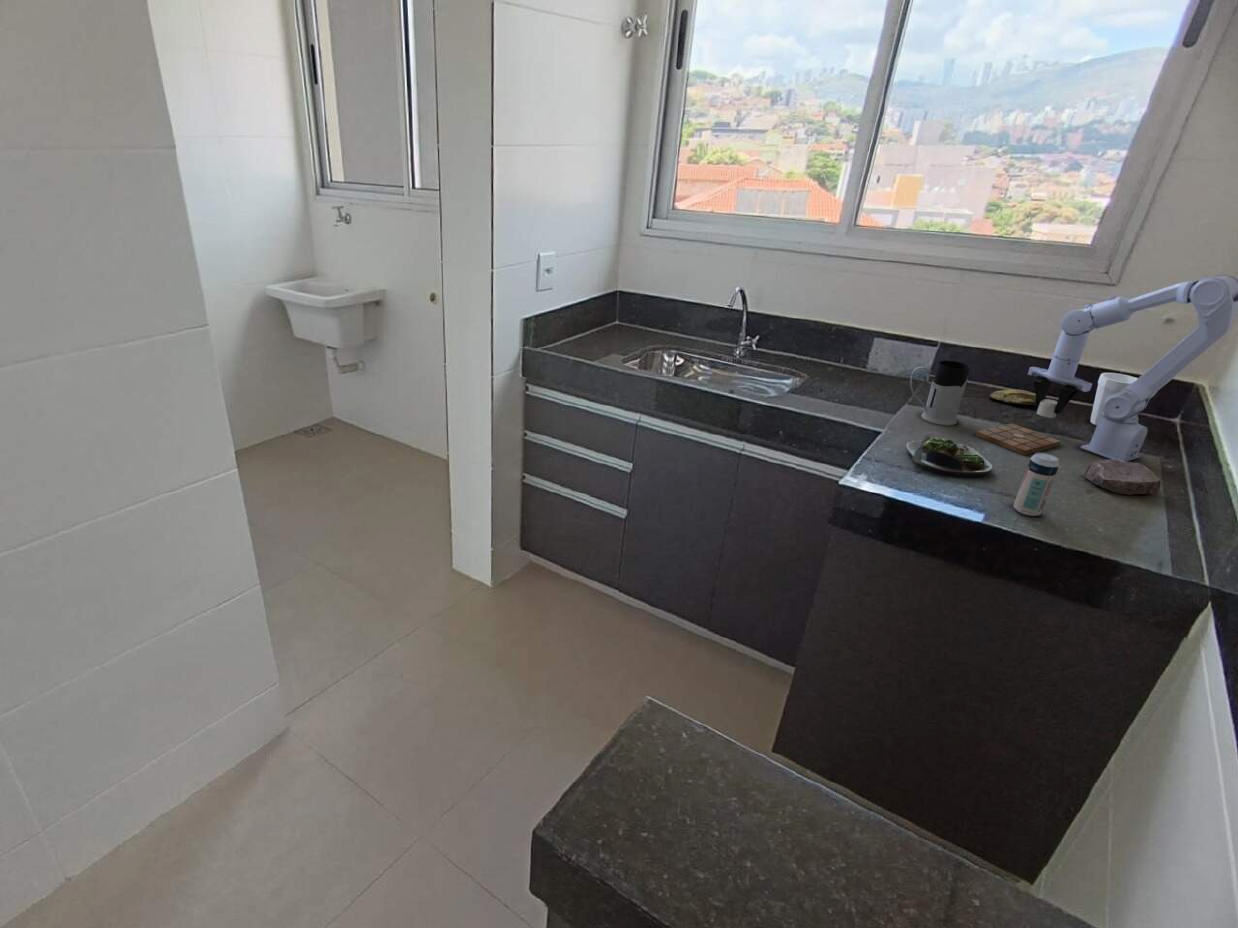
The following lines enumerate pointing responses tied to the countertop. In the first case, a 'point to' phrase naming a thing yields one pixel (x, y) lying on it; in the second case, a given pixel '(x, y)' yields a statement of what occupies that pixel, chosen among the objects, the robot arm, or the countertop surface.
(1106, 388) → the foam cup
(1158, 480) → the stone
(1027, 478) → the supplement jar
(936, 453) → the salad plate
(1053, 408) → the white cylinder
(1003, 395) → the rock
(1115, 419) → the robot arm
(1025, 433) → the board
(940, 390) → the glass holder
